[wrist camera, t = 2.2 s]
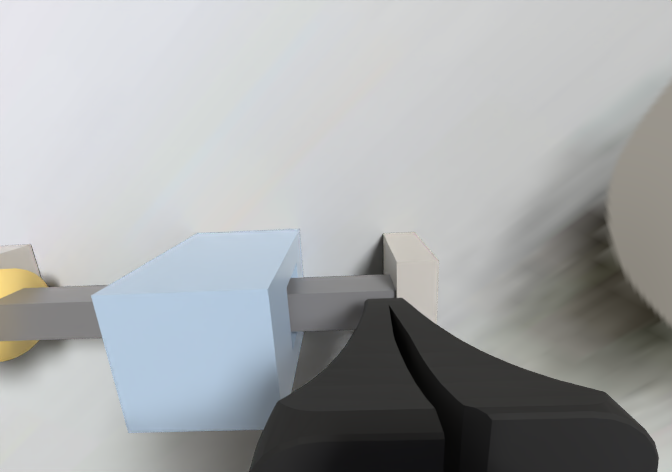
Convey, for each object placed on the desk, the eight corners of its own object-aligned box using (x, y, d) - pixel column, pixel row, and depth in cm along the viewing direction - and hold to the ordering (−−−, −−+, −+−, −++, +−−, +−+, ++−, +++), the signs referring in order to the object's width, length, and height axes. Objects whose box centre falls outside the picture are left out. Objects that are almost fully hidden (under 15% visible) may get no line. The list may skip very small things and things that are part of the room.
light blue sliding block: (299, 228, 15) (267, 288, 9) (306, 318, 17) (283, 429, 10) (196, 233, 16) (90, 295, 9) (211, 321, 17) (128, 432, 10)
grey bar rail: (414, 228, 15) (447, 263, 11) (413, 311, 16) (442, 377, 12) (-11, 246, 16) (-160, 287, 11) (16, 324, 17) (-108, 392, 12)
